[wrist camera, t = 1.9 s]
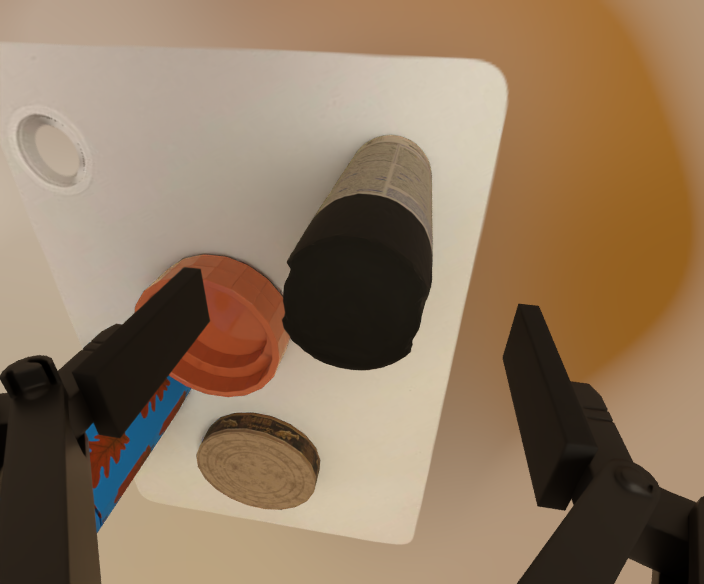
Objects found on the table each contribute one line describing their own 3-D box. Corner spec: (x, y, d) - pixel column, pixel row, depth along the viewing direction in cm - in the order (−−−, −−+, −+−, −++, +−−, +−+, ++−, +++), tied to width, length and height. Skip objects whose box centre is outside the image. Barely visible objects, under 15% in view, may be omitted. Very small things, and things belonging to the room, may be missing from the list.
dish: (148, 245, 41) (116, 269, 37) (289, 259, 39) (273, 287, 35) (176, 356, 49) (153, 386, 44) (295, 372, 47) (282, 405, 43)
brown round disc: (333, 436, 52) (328, 456, 49) (306, 501, 60) (301, 522, 58) (211, 397, 51) (200, 416, 49) (202, 469, 60) (192, 488, 58)
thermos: (146, 320, 46) (-87, 557, 25) (211, 384, 50) (56, 635, 29) (92, 355, 51) (-144, 580, 30) (156, 410, 55) (-13, 645, 34)
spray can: (343, 205, 35) (267, 357, 19) (357, 122, 32) (277, 220, 15) (419, 222, 35) (410, 392, 18) (442, 141, 32) (457, 261, 15)
